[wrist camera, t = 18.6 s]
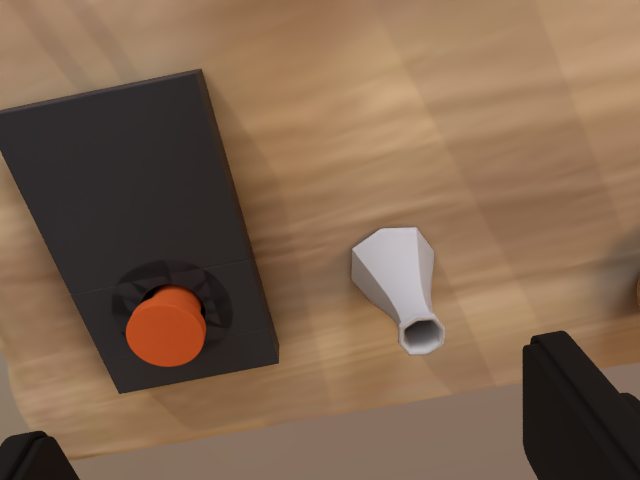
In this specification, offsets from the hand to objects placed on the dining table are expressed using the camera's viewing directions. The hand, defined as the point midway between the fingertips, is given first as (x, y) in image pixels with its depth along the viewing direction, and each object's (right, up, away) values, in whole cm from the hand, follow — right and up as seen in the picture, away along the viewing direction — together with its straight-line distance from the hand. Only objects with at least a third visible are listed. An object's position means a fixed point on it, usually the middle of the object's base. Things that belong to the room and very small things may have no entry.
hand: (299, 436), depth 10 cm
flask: (+6, +2, +31) cm, 32 cm away
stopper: (-11, -1, +31) cm, 33 cm away
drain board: (-12, +4, +29) cm, 32 cm away
